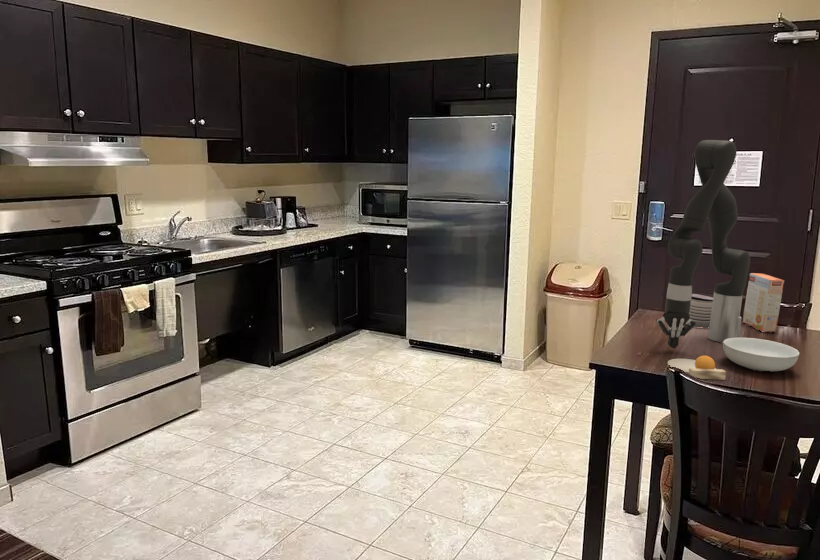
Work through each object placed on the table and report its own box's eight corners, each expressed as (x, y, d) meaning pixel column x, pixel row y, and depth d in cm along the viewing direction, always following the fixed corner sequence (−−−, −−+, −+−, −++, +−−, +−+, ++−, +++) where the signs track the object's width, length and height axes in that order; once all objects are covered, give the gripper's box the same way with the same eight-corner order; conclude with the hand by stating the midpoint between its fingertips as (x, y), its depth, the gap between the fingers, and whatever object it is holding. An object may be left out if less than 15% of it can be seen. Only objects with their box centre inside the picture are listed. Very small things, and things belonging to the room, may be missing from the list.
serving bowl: (781, 360, 198) (784, 340, 196) (807, 382, 178) (811, 360, 176) (713, 353, 202) (715, 333, 201) (730, 374, 182) (734, 352, 181)
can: (675, 321, 242) (679, 292, 240) (699, 320, 245) (703, 291, 243) (695, 329, 231) (699, 299, 229) (720, 328, 234) (724, 298, 232)
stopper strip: (721, 377, 179) (722, 369, 179) (725, 379, 177) (726, 371, 177) (688, 376, 179) (689, 368, 179) (691, 378, 177) (692, 370, 177)
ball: (713, 354, 183) (721, 364, 178) (705, 368, 186) (713, 379, 181) (696, 350, 183) (704, 360, 178) (688, 364, 185) (696, 375, 180)
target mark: (709, 361, 193) (709, 360, 193) (722, 376, 180) (722, 375, 180) (663, 357, 196) (663, 356, 196) (673, 371, 182) (673, 371, 182)
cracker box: (776, 333, 229) (785, 280, 225) (760, 333, 229) (769, 279, 225) (756, 323, 243) (764, 272, 239) (741, 323, 243) (749, 272, 239)
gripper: (693, 295, 202) (687, 344, 206) (654, 294, 203) (648, 343, 206) (704, 300, 195) (697, 351, 199) (663, 299, 195) (657, 350, 199)
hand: (672, 347), depth 202 cm, fingers closed
